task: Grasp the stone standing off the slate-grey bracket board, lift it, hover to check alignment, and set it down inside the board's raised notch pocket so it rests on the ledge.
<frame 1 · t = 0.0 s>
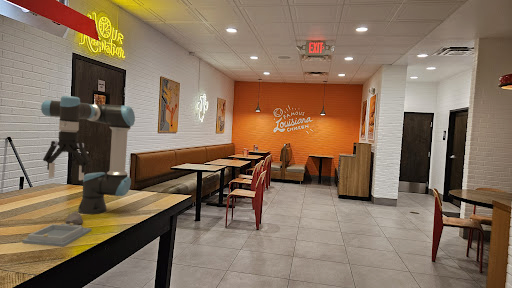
hand: (66, 178, 143), 28 cm above the table, fingers open, 13 cm apart
stone: (74, 223, 169), on the table
bracket board: (59, 236, 149), on the table
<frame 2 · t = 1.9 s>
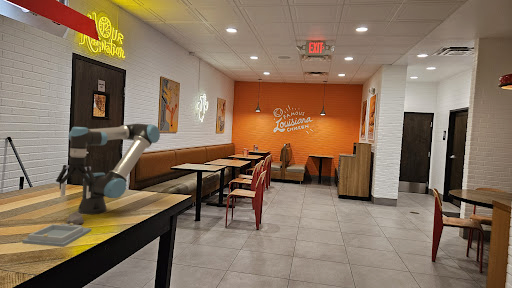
hand: (75, 196, 168), 14 cm above the table, fingers open, 13 cm apart
nothing on the table moved.
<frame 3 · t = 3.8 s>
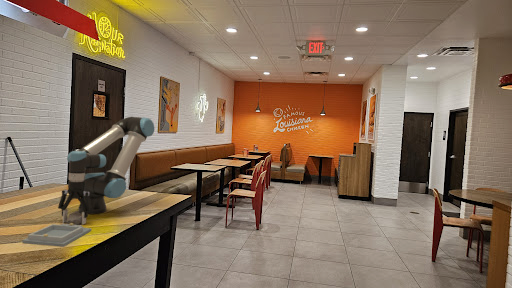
hand: (74, 222, 169), 0 cm above the table, fingers open, 9 cm apart
nothing on the table moved.
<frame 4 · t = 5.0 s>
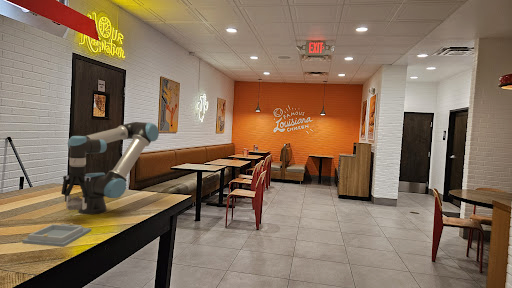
hand: (76, 208, 169), 8 cm above the table, fingers closed on stone, 8 cm apart
stone: (76, 208, 170), point 7 cm above the table, touching gripper
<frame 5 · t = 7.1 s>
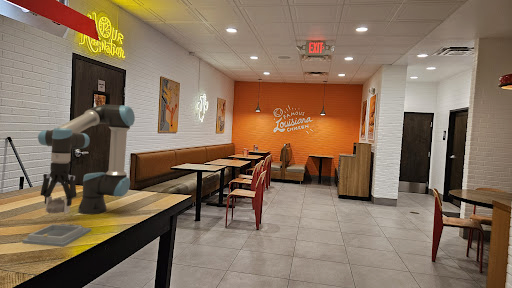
hand: (57, 211, 146), 12 cm above the table, fingers closed on stone, 8 cm apart
stone: (57, 212, 147), point 12 cm above the table, touching gripper
when the fingers open (3 cm above the table, at t = 9.7 s): stone drops 2 cm, resting on bracket board.
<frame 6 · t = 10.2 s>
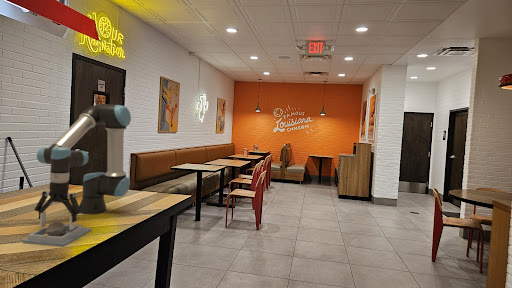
hand: (57, 227, 146), 5 cm above the table, fingers open, 13 cm apart
stone: (56, 234, 148), point 1 cm above the table, touching bracket board
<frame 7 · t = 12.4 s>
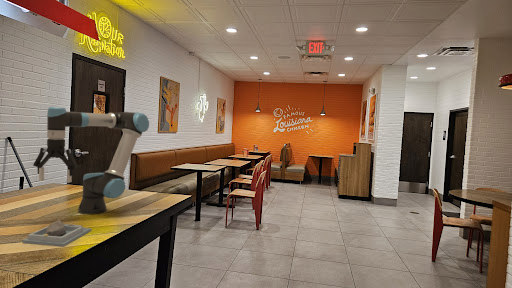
hand: (55, 181, 159), 23 cm above the table, fingers open, 13 cm apart
nothing on the table moved.
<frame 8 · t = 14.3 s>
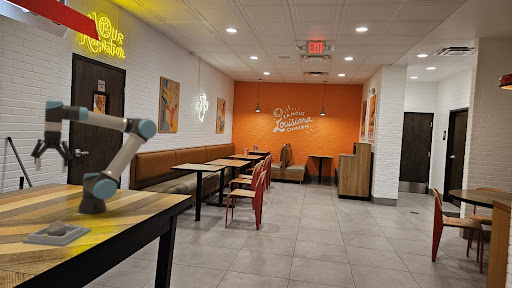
hand: (50, 171, 165), 27 cm above the table, fingers open, 13 cm apart
nothing on the table moved.
at the end: stone inside the target area on the bracket board (1.3 cm from its centre), point 1.0 cm above the bracket board's base; the gripper is holding nothing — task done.
